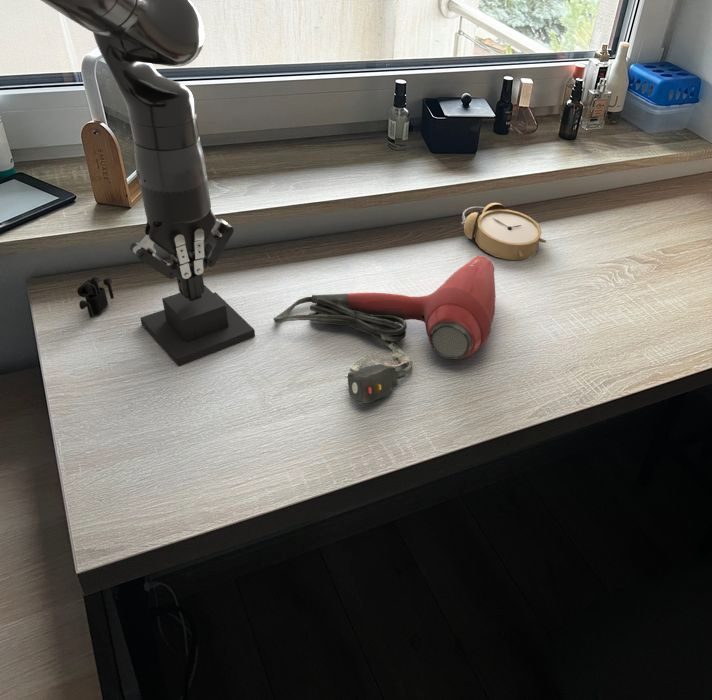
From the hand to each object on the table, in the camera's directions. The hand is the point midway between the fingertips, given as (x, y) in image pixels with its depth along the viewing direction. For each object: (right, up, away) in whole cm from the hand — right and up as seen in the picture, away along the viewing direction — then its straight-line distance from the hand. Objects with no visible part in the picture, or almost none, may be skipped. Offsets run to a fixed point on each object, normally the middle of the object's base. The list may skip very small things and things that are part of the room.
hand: (193, 296), depth 95 cm
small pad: (0, -3, +3) cm, 4 cm away
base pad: (-1, -4, +3) cm, 6 cm away
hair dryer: (+28, -4, +9) cm, 29 cm away
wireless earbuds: (-15, -2, +5) cm, 16 cm away
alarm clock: (+42, +12, +31) cm, 54 cm away
